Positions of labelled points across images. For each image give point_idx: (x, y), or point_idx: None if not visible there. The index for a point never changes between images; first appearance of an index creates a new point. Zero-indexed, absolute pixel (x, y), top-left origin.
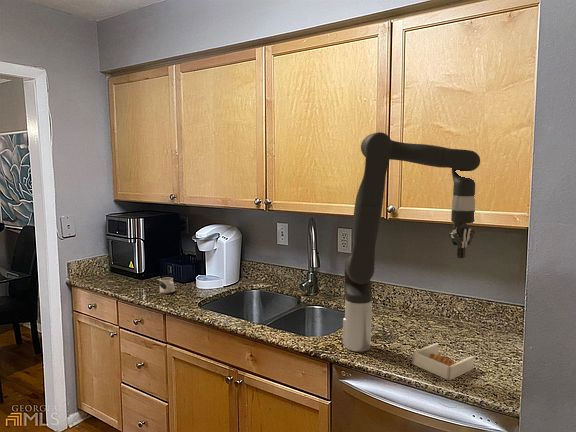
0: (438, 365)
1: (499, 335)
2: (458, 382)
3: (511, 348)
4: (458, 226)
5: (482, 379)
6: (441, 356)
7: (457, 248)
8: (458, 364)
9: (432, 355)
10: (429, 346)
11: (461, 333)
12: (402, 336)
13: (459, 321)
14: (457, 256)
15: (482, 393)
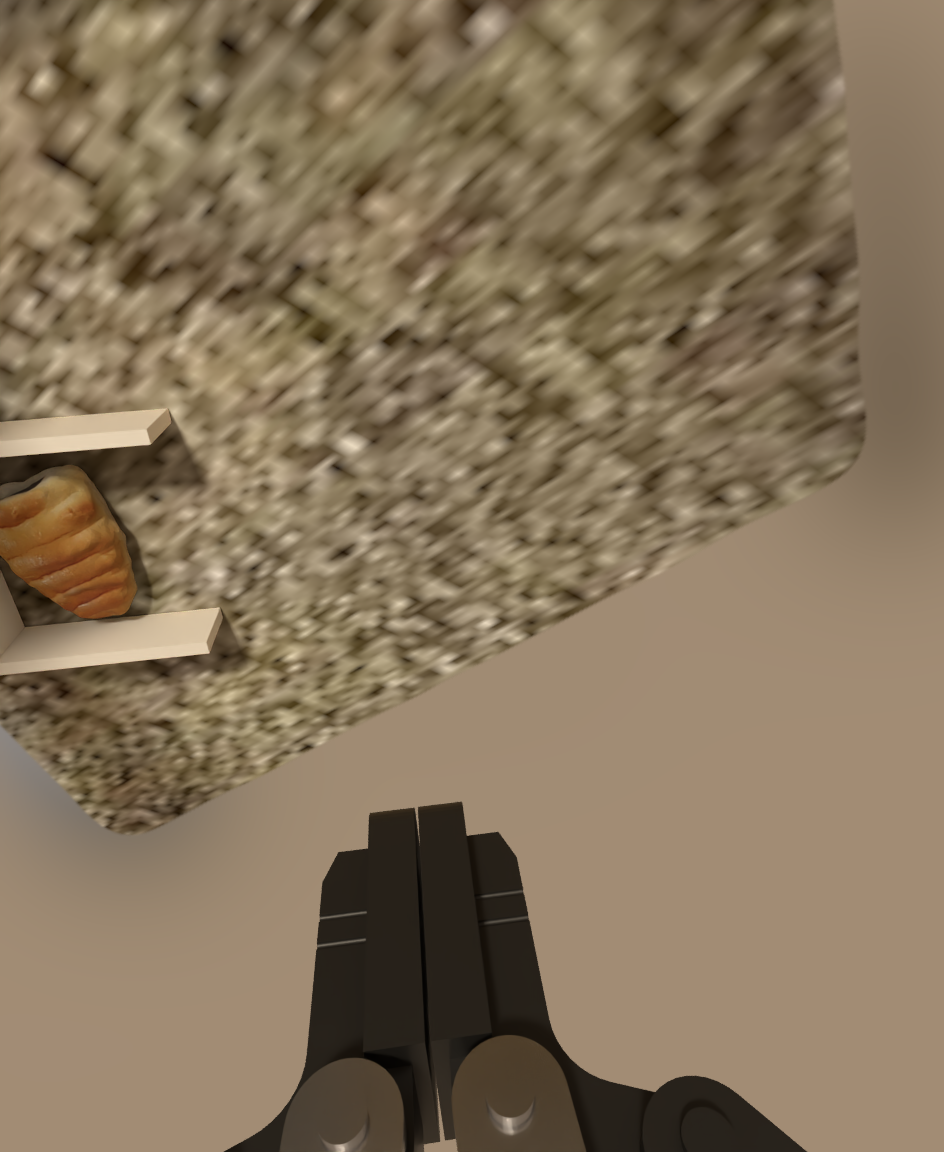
0: None
1: (751, 428)
2: None
3: (613, 567)
4: None
5: (180, 692)
6: (56, 553)
7: (309, 1054)
8: (63, 667)
9: (8, 520)
10: (54, 445)
11: (596, 268)
12: (139, 19)
13: (823, 77)
14: (371, 826)
15: (83, 755)
